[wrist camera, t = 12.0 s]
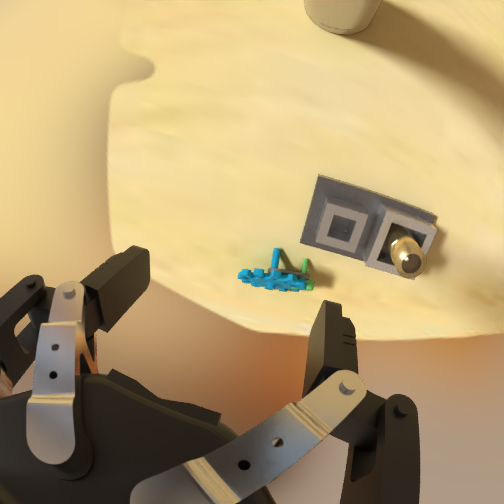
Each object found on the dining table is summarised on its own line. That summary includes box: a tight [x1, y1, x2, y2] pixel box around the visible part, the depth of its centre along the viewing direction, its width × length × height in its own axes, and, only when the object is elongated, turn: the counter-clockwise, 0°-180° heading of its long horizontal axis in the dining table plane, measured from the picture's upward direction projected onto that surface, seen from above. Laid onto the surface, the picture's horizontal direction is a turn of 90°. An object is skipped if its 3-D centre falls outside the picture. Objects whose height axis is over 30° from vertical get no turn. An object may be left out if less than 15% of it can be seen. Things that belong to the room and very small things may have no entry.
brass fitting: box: [384, 224, 426, 279], centre depth 31 cm, size 4×4×8 cm
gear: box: [238, 248, 314, 292], centre depth 40 cm, size 11×6×10 cm
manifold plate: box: [300, 174, 437, 280], centre depth 34 cm, size 10×18×5 cm, turn 80°
